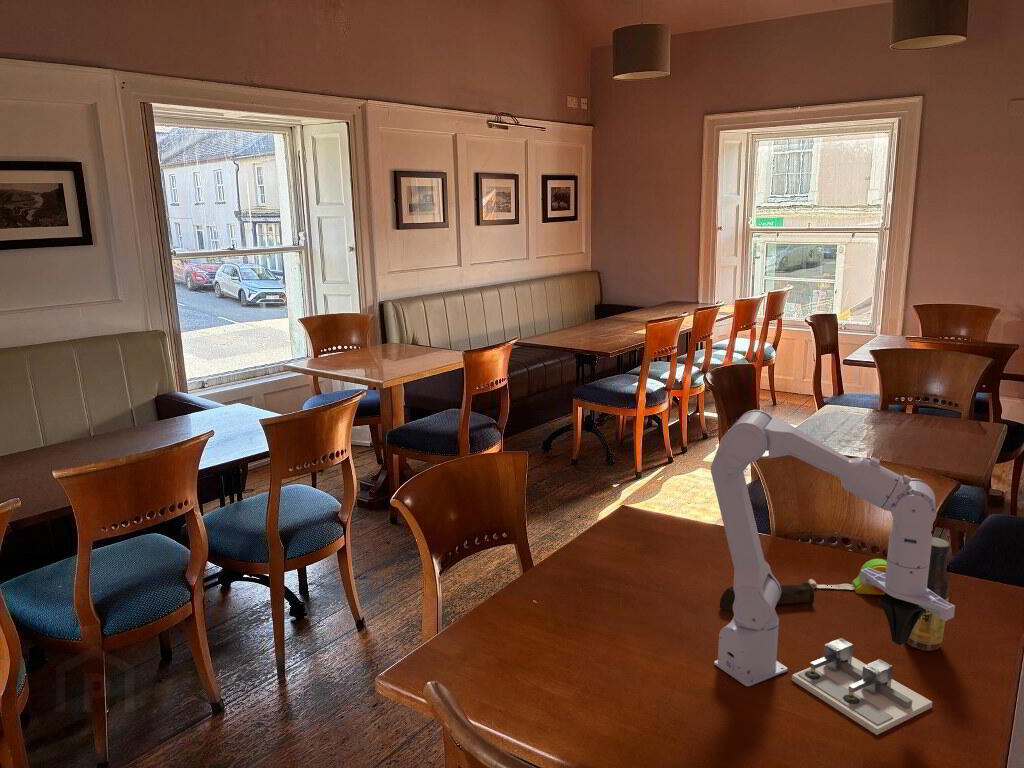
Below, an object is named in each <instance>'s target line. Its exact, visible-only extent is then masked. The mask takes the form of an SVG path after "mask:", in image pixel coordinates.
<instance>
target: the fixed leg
mask: <svg viewBox="0 0 1024 768" xmlns="http://www.w3.org/2000/svg"><path fill="white" fill-rule="evenodd" d="M853 651H854V644H853V643H851V642H850V641H847V640H846V639H844V638H842V637H840V638H837V639H835V640H832V641H830V642H827V643H825V644H824V650H823V657H821V658H818V659H816V660H814V661H810V664H809V665H810V666H809V668H810V667H811V671H810V673H811V674H815V669H816V668H818V667H821V666H823V665H825V666H827V667H829V668H830V669H832V670H834V671H837V670H839V667H840V662H842V661H845V662H847V663H849V664H852V657H853V653H854V652H853Z"/></svg>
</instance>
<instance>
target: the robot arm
mask: <svg viewBox="0 0 1024 768" xmlns="http://www.w3.org/2000/svg"><path fill="white" fill-rule="evenodd" d="M766 452H768V459H774V458H779V457H786V456H792V457H794V458H795V459H799V460H800V461H802V462H805V463H807V464H810V465H811V466H813V467H816V468H817V469H820V470H822V471H824V472H826V473H829V474H830V475H833V476H835V477H837V478H839V480H840V482H841V484H842V486H843V490H845V491H848V492H849V493H851V494H853V495H855V496H857V497H858V498H861V499H863V500H864V501H867V502H868V503H870V504H871V505H874V506H876V507H878V508H880V509H882V510H884V511H887V512H890V513H891V516H892V518H893V519H892V525H891V527H890V529H889V536H888V546H887V547H888V549H887V558H886V561H887V566H886V573H883V572H879V571H876V570H873V569H871V568H866V569H863V570H861V569H860V571H859V574H860V580H859V581H860V582H862V583H869V584H872V585H874V586H876V587H878V588H880V589H882V590H883V591H884V592H885V594H884V595H881V596H880V597H879V601H878V602H879V604H880V606H881V608H882V609H883V612H884V613H885V616H886V619H887V622H888V626H889V631H890V636H891V641H892V642H893V643H895V644H897V645H899V646H901V645H904V644H907V643H906V642H908V640H909V637H910V635H911V632H912V630H913V628H914V626H915V624H916V622H917V621H918V619H919V618H920V617H921V615H922V614H923V613H924V612H925V611H926V610H928V611H930V612H932V613H935V614H937V615H939V618H940V619H942V620H945V622H946V621H949V620H951V619H953V618H955V609H956V605H954V604H952V603H951V602H949V601H948V602H947V601H945V600H944V599H942V598H941V597H939V596H938V595H936V594H935V593H934V592H932V591H931V590H929V589H928V588H927V582H928V572H929V563H930V554H931V545H932V537H933V534H932V531H933V528H934V526H933V525H934V522H935V520H936V518H937V515H938V514H937V513H936V511H937V510H936V495H935V493H934V490H933V489H932V487H931V486H929V485H928V484H927V483H926V482H924V481H923V480H922V479H919V478H916V477H915V478H913V477H910V476H909V475H907V474H904V475H900V474H899V473H896V472H895V471H892V470H891V469H888V468H886V467H884V466H882V465H880V462H881V461H880V460H879V459H877V458H876V457H874V456H871V458H870V459H869V458H867V457H865V456H859V457H852V458H849V457H848V456H846V455H844V454H842V453H840V452H839V451H837V450H835V449H833V448H832V447H830V446H828V445H826V444H824V443H823V442H821V441H819V440H818V439H816V438H814V437H812V436H811V435H809V434H807V433H805V432H803V431H802V430H800V429H798V428H796V427H795V426H793V425H792V424H790V423H788V422H787V421H785V420H784V419H782V418H779V417H777V416H773V417H772V415H770V414H769V413H768V412H766V411H764V410H761V409H752V410H748V411H746V412H744V413H743V414H742V415H741V416H740V417H739V418H738V419H737V420H736V421H735V422H734V423H733V424H732V425H731V427H730V428H729V430H727V431H726V433H725V434H724V435H723V436H722V437H721V438H720V442H719V445H718V447H717V450H716V452H715V455H714V457H713V460H712V462H711V464H710V473H711V478H712V482H713V486H714V490H715V494H716V498H717V502H718V507H719V511H720V515H721V519H722V523H723V527H724V531H725V536H726V541H727V545H728V549H729V552H730V556H731V560H732V564H733V565H732V566H733V568H734V569H733V570H734V572H733V573H734V574H733V586H732V587H733V588H734V593H735V600H734V603H733V610H732V613H733V618H732V619H731V621H730V622H729V623H728V624H727V625H725V626H723V627H722V628H721V629H720V631H719V634H718V647H717V648H718V649H717V652H718V653H717V660H714V663H713V664H714V665H715V666H716V667H718V669H720V670H722V671H723V672H725V673H726V674H728V675H729V676H731V677H732V678H734V679H735V681H738V682H739V683H741V684H742V685H744V686H745V687H751V686H754V685H756V684H759V683H761V682H764V681H766V680H768V679H770V678H773V677H776V676H778V675H780V674H783V673H785V672H787V671H788V667H787V666H785V665H784V664H782V662H780V661H778V660H777V655H778V641H779V640H778V639H779V625H780V623H779V622H780V618H779V615H778V614H777V612H776V609H775V608H776V606H777V605H776V604H777V602H778V600H779V598H780V596H781V587H780V586H781V584H780V583H779V581H778V580H777V578H776V577H775V576H774V575H773V573H772V570H771V565H770V564H769V563H768V562H767V561H766V560H765V556H764V552H763V548H762V545H761V544H762V543H761V539H760V535H759V531H758V527H757V523H756V518H755V516H754V515H755V514H754V510H753V505H752V502H751V499H750V494H749V490H748V484H747V482H746V480H747V479H746V476H745V473H744V472H745V470H746V469H747V468H748V466H749V465H750V464H752V463H754V462H755V461H758V460H759V459H760V458H762V457H763V455H765V453H766Z"/></svg>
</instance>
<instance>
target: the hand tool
mask: <svg viewBox="0 0 1024 768" xmlns="http://www.w3.org/2000/svg"><path fill="white" fill-rule="evenodd" d="M780 587H781V596H780V598H779V600H778V602H777V604H776V606H777V605H788V604H791V605H792V604H801V603H808V604H809V605H813V604H814V603H815V589H813V587H812V586H811V585H810V583H808V581H807V582H805V581H804V582H802V583H799V584H790V585H788V584H787V585H783V584H782V585H781V584H780ZM734 600H735V593H734V588H733V586H731V587H727V588H726V589H725V590H724V591H723V593H722V595H721V597H720V599H719V609H720V610H724V611H725V610H726V611H733V603H734Z"/></svg>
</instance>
